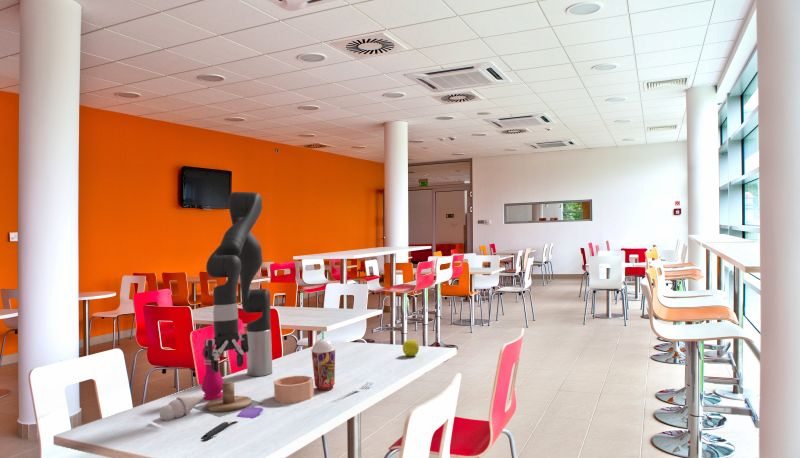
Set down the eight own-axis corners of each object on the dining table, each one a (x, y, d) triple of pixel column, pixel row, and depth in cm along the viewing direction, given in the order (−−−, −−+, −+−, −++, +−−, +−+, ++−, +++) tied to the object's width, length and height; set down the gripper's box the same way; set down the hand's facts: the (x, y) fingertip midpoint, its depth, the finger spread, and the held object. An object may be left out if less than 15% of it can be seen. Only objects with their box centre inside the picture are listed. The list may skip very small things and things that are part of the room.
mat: (192, 409, 180) (192, 407, 180) (237, 397, 192) (237, 395, 192) (219, 418, 169) (219, 416, 169) (265, 405, 181) (264, 403, 181)
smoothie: (332, 392, 194) (330, 333, 194) (309, 391, 195) (307, 333, 195) (340, 385, 202) (337, 329, 202) (317, 385, 203) (315, 329, 204)
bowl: (267, 400, 187) (266, 382, 187) (297, 391, 196) (297, 374, 196) (290, 406, 179) (289, 387, 179) (321, 397, 188) (320, 379, 188)
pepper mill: (229, 396, 193) (226, 337, 193) (215, 402, 186) (213, 341, 187) (211, 395, 196) (209, 337, 196) (197, 401, 189) (195, 341, 189)
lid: (197, 407, 180) (196, 384, 180) (236, 396, 191) (235, 375, 191) (220, 415, 171) (219, 391, 171) (260, 403, 181) (259, 381, 181)
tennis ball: (402, 354, 249) (401, 338, 249) (417, 353, 250) (417, 337, 250) (403, 358, 242) (403, 341, 242) (420, 357, 243) (419, 340, 243)
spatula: (211, 444, 150) (211, 435, 150) (191, 441, 152) (190, 432, 152) (265, 415, 172) (264, 407, 172) (246, 414, 174) (246, 406, 174)
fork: (321, 405, 180) (321, 399, 180) (367, 386, 200) (366, 381, 200) (329, 407, 178) (329, 401, 178) (374, 387, 199) (374, 382, 199)
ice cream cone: (208, 408, 180) (164, 430, 168) (198, 394, 182) (153, 415, 171) (212, 396, 177) (167, 417, 165) (202, 382, 179) (157, 402, 168)
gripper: (239, 314, 189) (240, 363, 189) (199, 320, 178) (200, 372, 178) (251, 316, 184) (253, 366, 184) (211, 321, 173) (213, 375, 173)
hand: (227, 369), depth 181 cm, fingers open, 8 cm apart
